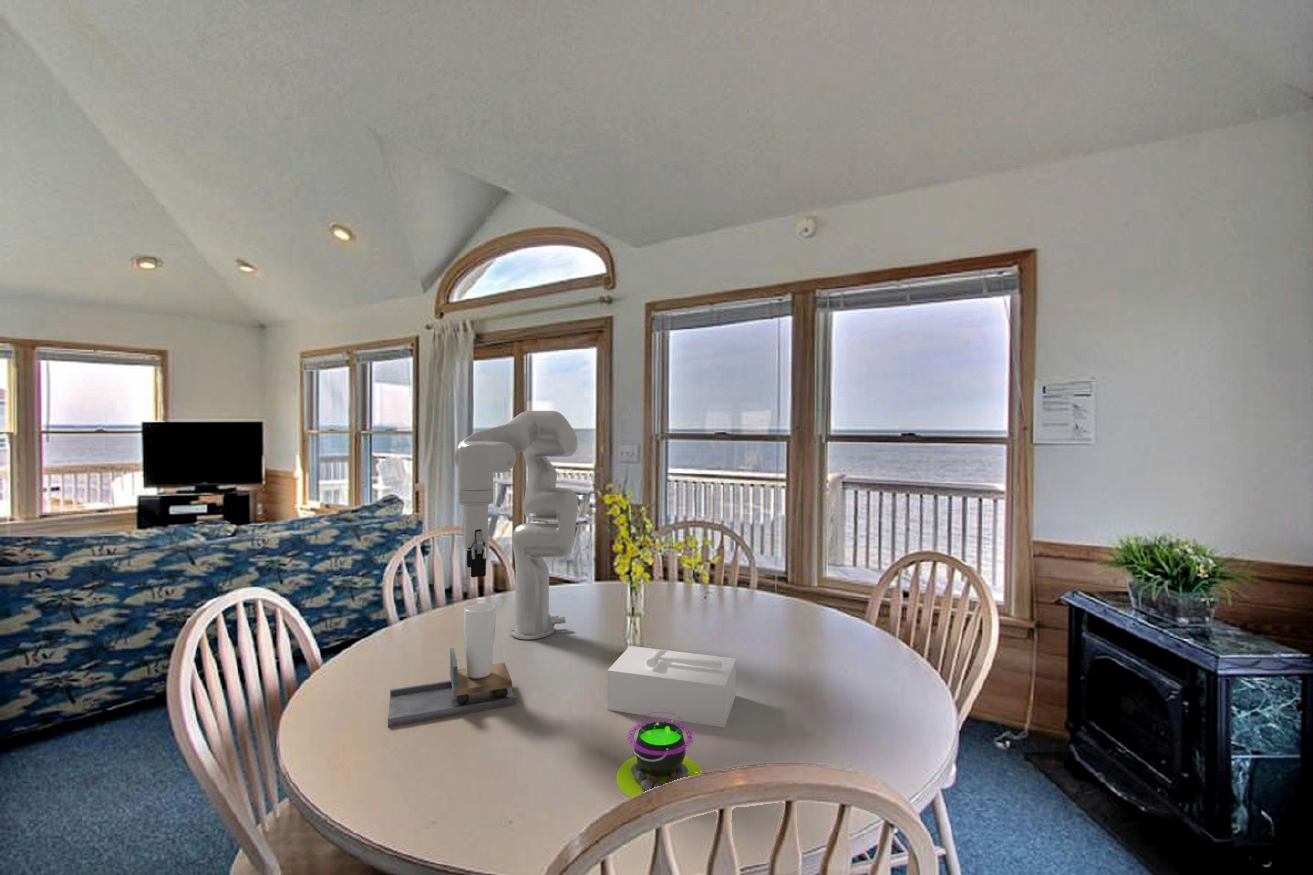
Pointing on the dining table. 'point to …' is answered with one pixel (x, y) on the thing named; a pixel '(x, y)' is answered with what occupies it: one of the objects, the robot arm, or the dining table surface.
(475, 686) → the cart
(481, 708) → the rail
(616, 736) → the dining table surface
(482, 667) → the drinking glass
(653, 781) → the toy cauldron
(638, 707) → the white hammer mold block
